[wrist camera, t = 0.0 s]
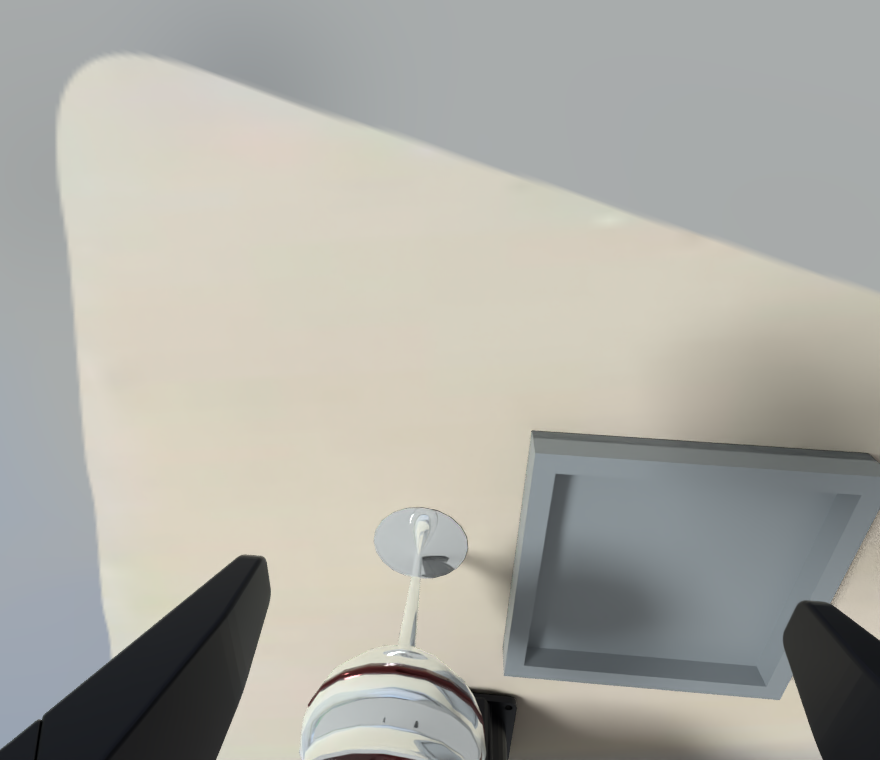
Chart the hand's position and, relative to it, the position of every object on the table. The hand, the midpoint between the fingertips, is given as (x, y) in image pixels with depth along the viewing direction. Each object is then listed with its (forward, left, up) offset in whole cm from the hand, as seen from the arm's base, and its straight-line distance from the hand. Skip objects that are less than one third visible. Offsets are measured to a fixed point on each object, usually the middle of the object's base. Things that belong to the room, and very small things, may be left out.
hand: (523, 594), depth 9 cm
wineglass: (-13, +3, -15) cm, 20 cm away
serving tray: (-13, -10, -15) cm, 22 cm away
